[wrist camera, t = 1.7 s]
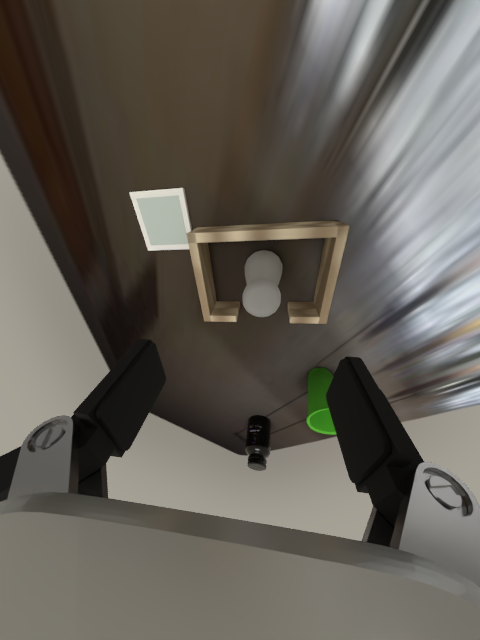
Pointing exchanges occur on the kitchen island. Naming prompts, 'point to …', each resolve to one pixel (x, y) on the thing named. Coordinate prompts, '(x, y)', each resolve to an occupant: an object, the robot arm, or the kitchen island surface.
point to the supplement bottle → (258, 442)
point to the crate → (329, 230)
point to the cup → (319, 401)
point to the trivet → (163, 218)
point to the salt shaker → (262, 283)
